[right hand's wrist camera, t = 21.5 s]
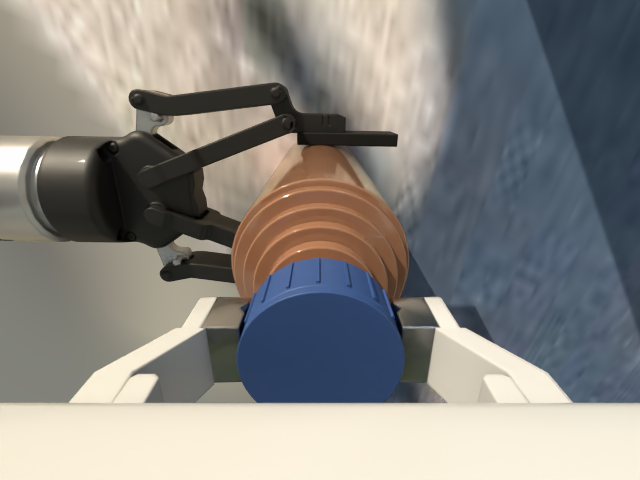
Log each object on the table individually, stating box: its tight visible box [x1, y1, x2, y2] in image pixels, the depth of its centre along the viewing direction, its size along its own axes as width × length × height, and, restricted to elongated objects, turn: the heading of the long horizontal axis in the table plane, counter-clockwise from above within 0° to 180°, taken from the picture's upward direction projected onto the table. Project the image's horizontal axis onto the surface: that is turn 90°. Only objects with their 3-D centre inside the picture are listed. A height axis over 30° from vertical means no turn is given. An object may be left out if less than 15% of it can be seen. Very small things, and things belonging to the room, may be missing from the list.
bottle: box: [231, 143, 409, 299], centre depth 20 cm, size 7×7×23 cm
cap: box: [237, 257, 405, 403], centre depth 9 cm, size 4×4×2 cm
